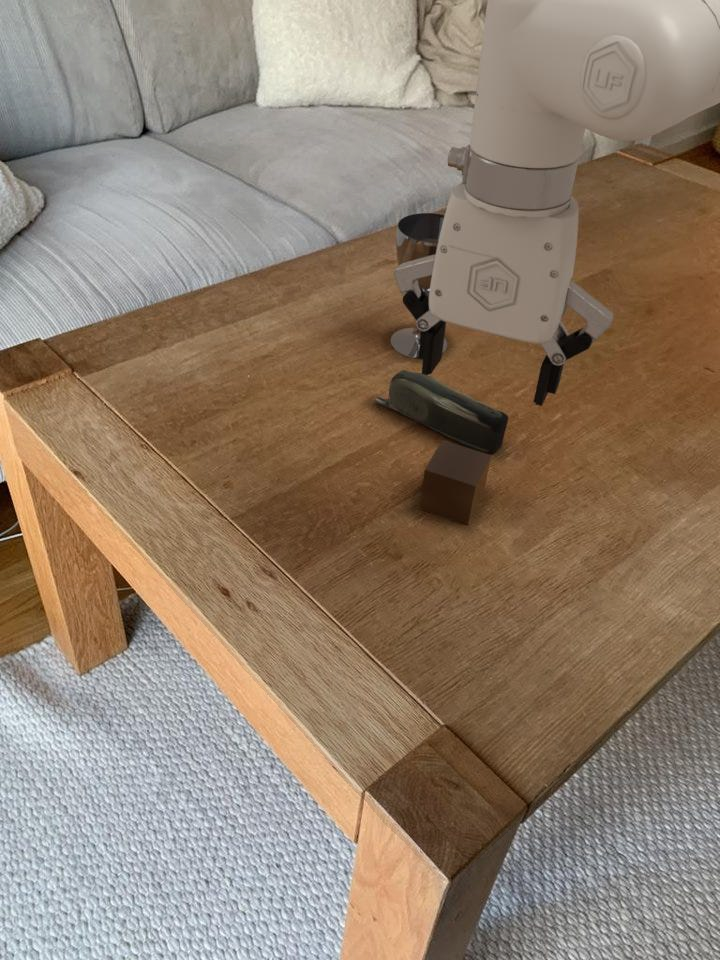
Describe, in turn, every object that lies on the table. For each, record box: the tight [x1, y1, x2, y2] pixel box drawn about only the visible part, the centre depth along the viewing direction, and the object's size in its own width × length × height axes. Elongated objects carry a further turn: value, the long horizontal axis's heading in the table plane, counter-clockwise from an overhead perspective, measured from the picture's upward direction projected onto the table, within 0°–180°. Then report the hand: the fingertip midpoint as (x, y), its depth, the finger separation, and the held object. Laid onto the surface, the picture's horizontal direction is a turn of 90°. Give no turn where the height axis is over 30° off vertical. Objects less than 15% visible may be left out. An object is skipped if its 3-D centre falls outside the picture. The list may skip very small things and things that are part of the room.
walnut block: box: [418, 439, 492, 526], centre depth 78 cm, size 5×5×5 cm
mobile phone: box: [374, 369, 509, 454], centre depth 87 cm, size 5×3×15 cm
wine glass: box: [389, 212, 448, 360], centre depth 97 cm, size 8×8×15 cm
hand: (485, 381), depth 68 cm, fingers open, 9 cm apart
